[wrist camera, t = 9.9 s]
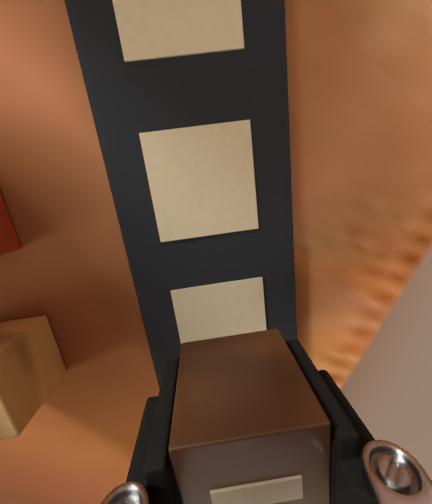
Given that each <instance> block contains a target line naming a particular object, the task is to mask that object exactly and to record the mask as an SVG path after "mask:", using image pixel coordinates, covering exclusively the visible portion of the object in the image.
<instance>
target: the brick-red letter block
mask: <svg viewBox="0 0 432 504" xmlns="http://www.w3.org/2000/svg"><path fill="white" fill-rule="evenodd" d="M20 248H21V246H20V243H19V240H18V238H17V235H16V232H15V230H14V227H13V224H12V222H11V219H10V216H9V214H8V211H7V208H6V206H5V203H4V200H3V198H2V195H1V192H0V255H2V254H5V253H8V252H11V251H14V250H17V249H20Z"/></svg>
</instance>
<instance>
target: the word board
mask: <svg viewBox="0 0 432 504" xmlns="http://www.w3.org/2000/svg"><path fill="white" fill-rule="evenodd" d="M65 4H66V8H67V12H68V16H69V20H70V24H71V28H72V32H73V37H74V41H75V45H76V49H77V53H78V57H79V61H80V65H81V69H82V73H83V77H84V81H85V86H86V90H87V94H88V98H89V102H90V106H91V110H92V114H93V118H94V122H95V126H96V130H97V135H98V139H99V143H100V147H101V151H102V155H103V159H104V163H105V167H106V171H107V175H108V179H109V183H110V188H111V192H112V196H113V200H114V204H115V208H116V212H117V216H118V220H119V224H120V228H121V232H122V237H123V241H124V245H125V249H126V253H127V257H128V261H129V265H130V269H131V273H132V277H133V281H134V286H135V290H136V294H137V298H138V302H139V306H140V310H141V314H142V318H143V322H144V326H145V330H146V334H147V339H148V343H149V347H150V351H151V355H152V359H153V363H154V367H155V371H156V375H157V379H158V383H159V388H160V386H161V381H162V376H163V372H164V367H165V362H166V359H172V358H178V357H179V358H180V352H181V344H182V343H185V342H192V341H198V340H205V339H211V338H218V337H224V336H231V335H237V334H244V333H251V332H257V331H264V330H270V329H278V330H279V332H280V333H281V335H282V337H283V339H284V341H288V340H295V339H297V328H296V301H295V275H294V248H293V221H292V194H291V167H290V141H289V114H288V87H287V60H286V33H285V6H284V0H65Z"/></svg>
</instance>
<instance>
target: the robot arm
mask: <svg viewBox="0 0 432 504" xmlns="http://www.w3.org/2000/svg"><path fill="white" fill-rule="evenodd" d="M285 342H286V344H287V346H288V348H289V349H290V351H291V353H292V355H293V357H294V358H295V360H296V362H297V364H298V366H299V367H300V369H301V371H302V373H303V375H304V376H305V378H306V380H307V382H308V384H309V385H310V387H311V389H312V391H313V393H314V394H315V396H316V398H317V400H318V402H319V403H320V405H321V407H322V409H323V410H324V412H325V414H326V416H327V418H328V419H329V421H330V424H331V431H330V504H432V481H431V480H430V478H429V477H428V475H427V473H426V472H425V471H424V469H423V468H422V466H421V465H420V464H419V463H418V461H417V460H416V459H415V458H414V457H413V456H412V455H411V454H409V453H408V452H407V451H405V450H404V449H403V448H401V447H399V446H398V445H396V444H393V443H391V442H388V441H383V440H375V439H374V438H373V436H372V435H371V434H370V432H369V431H368V429H367V428H366V426H365V425H364V423H363V422H362V421H361V419H360V418H359V416H358V415H357V413H356V412H355V411H354V409H353V408H352V406H351V405H350V404H349V402H348V400H347V399H346V398H345V396H344V395H343V393H342V392H341V390H340V389H339V388H338V386H337V385H336V383H335V382H334V380H333V379H332V377H331V376H330V375H329V373H328V372H327V371H325V370H320V371H318V370H317V369H316V367H315V366H314V364H313V363H312V361H311V360H310V358H309V357H308V355H307V353H306V352H305V350H304V349H303V347H302V346H301V344H300V343H299V341H298V340H297V339H295V340H288V341H285ZM179 360H180V358H179V357H178V358H172V359H166V362H165V367H164V372H163V376H162V381H161V386H160V391H159V396H156V397H150V398H148V400H147V402H146V406H145V409H144V413H143V417H142V421H141V425H140V429H139V433H138V437H137V441H136V445H135V449H134V453H133V457H132V460H131V464H130V468H129V472H128V476H127V480H126V483H123V484H121V485H119V486H117V487H116V488H114V489H113V490H112V491H111V492H110V493H109V494H108V495H107V496H106V497H105V499H104V500H103V501H102V502H101V504H182V501H181V497H180V493H179V489H178V485H177V481H176V478H175V474H174V470H173V466H172V462H171V458H170V454H169V450H168V449H169V440H170V432H171V424H172V416H173V408H174V400H175V392H176V384H177V376H178V368H179Z"/></svg>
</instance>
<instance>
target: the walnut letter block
mask: <svg viewBox="0 0 432 504" xmlns="http://www.w3.org/2000/svg"><path fill="white" fill-rule="evenodd" d="M330 431H331V424H330V421H329V419H328V418H327V416H326V414H325V412H324V410H323V409H322V407H321V405H320V403H319V402H318V400H317V398H316V396H315V394H314V393H313V391H312V389H311V387H310V385H309V384H308V382H307V380H306V378H305V376H304V375H303V373H302V371H301V369H300V367H299V366H298V364H297V362H296V360H295V358H294V357H293V355H292V353H291V351H290V349H289V348H288V346H287V344H286V342H285V341H284V339H283V337H282V335H281V333H280V332H279V330H278V329H270V330H264V331H257V332H251V333H244V334H237V335H231V336H224V337H218V338H211V339H205V340H198V341H192V342H185V343H182V344H181V352H180V360H179V368H178V376H177V384H176V392H175V400H174V408H173V416H172V424H171V432H170V440H169V449H168V450H169V454H170V458H171V462H172V466H173V470H174V474H175V478H176V481H177V485H178V489H179V493H180V497H181V501H182V504H330Z"/></svg>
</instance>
